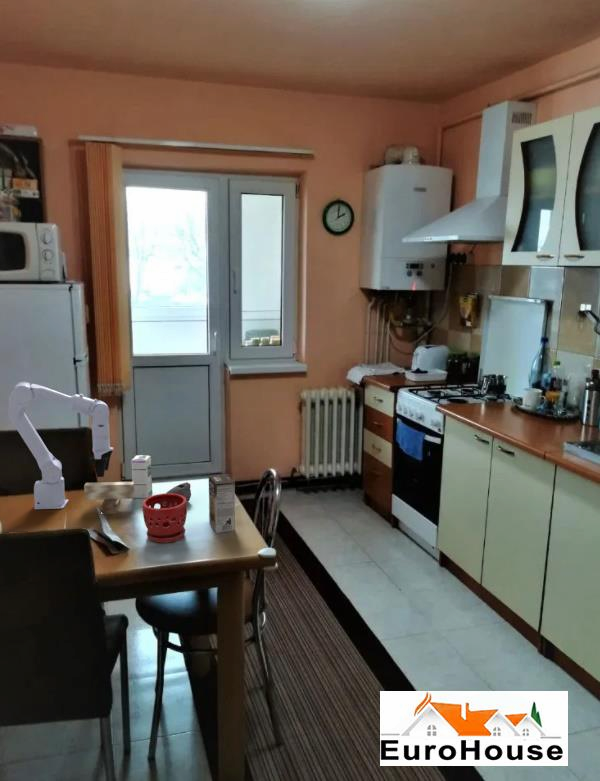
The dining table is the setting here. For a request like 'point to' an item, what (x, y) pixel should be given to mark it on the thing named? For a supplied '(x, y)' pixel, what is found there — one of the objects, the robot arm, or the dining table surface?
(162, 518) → the plant pot
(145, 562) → the dining table surface
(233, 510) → the coffee box
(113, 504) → the walnut ridge
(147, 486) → the syrup box
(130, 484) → the metal bar
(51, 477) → the robot arm
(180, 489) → the perforated stone tool
